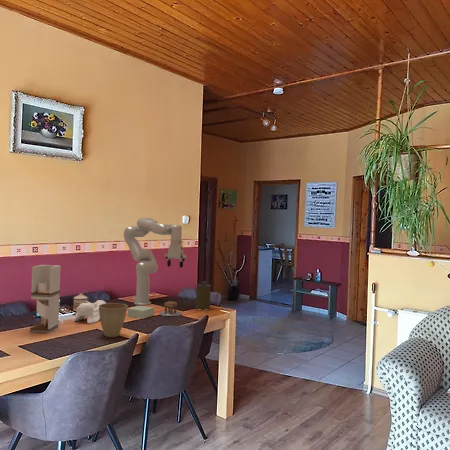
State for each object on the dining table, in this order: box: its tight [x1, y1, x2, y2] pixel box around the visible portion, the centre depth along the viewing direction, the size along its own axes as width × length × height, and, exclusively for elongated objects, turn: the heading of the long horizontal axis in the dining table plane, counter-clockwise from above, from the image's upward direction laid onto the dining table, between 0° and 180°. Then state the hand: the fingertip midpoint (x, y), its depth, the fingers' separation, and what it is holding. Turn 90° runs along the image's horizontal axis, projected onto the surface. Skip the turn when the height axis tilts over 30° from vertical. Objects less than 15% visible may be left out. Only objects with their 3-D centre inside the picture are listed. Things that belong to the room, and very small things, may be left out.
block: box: [127, 305, 155, 319], centre depth 277 cm, size 12×12×5 cm
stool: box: [164, 300, 178, 314], centre depth 284 cm, size 6×6×7 cm
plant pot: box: [99, 302, 128, 338], centre depth 228 cm, size 15×15×16 cm
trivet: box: [158, 310, 183, 317], centre depth 284 cm, size 15×15×1 cm
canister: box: [195, 280, 212, 311], centre depth 306 cm, size 11×10×20 cm
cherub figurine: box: [73, 299, 107, 324], centre depth 260 cm, size 13×12×20 cm
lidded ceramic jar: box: [72, 293, 89, 313], centre depth 284 cm, size 12×9×12 cm
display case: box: [29, 264, 62, 334], centre depth 234 cm, size 11×11×35 cm
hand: (175, 266), depth 299 cm, fingers open, 9 cm apart
